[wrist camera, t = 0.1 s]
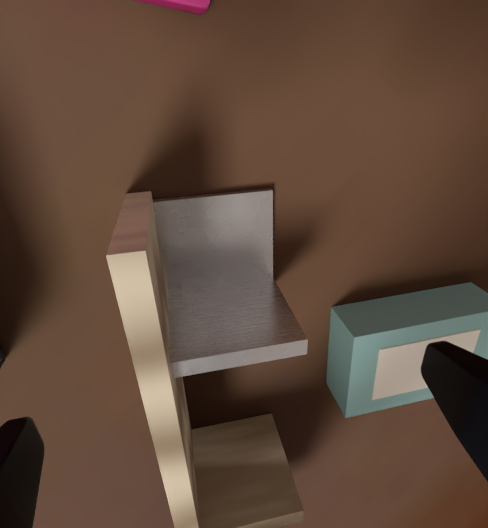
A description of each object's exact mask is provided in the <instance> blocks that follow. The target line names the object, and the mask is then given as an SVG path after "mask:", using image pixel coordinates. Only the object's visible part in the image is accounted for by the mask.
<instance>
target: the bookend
mask: <svg viewBox="0 0 488 528" xmlns="http://www.w3.org/2000/svg"><path fill="white" fill-rule="evenodd" d="M152 203H153V208H154V214H155V220H156V226H157V232H158V238H159V244H160V250H161V256H162V262H163V268H164V273H165V279H166V285H167V291H168V321H169V358H170V368H171V373H172V378H178V377H183V376H189V375H194V374H200V373H205V372H211V371H216V370H222V369H227V368H233V367H239V366H244V365H250V364H255V363H261V362H266V361H272V360H277V359H283V358H288V357H294V356H299V355H305V354H307V343H308V339H307V337H306V335H305V334H304V332H303V330H302V328H301V326H300V325H299V323H298V321H297V319H296V318H295V316H294V314H293V312H292V310H291V309H290V307H289V305H288V303H287V302H286V300H285V298H284V296H283V294H282V293H281V291H280V289H279V287H278V286H277V284H276V282H275V280H274V278H273V190H272V189H271V188H266V189H256V190H245V191H235V192H225V193H215V194H205V195H195V196H185V197H175V198H165V199H155V200H153V202H152Z"/></svg>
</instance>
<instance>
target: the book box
mask: <svg viewBox="0 0 488 528" xmlns="http://www.w3.org/2000/svg"><path fill="white" fill-rule="evenodd" d="M438 341H447V342H450V343H452V344H454V345H456V346H459V347H461V348H463V349H465V350H467V351H470V352H472V353H474V354H476V355H479V356H481V357H483V358H485V359H488V293H487V292H485V291H484V290H482V289H481V288H479V287H478V286H476V285H475V284H473V283H472V282H468V283H463V284H457V285H451V286H446V287H440V288H435V289H429V290H423V291H418V292H412V293H407V294H401V295H395V296H390V297H384V298H379V299H373V300H367V301H362V302H356V303H351V304H345V305H339V306H334V307H331V318H330V332H329V347H328V362H327V376H326V384H327V385H328V387H329V389H330V391H331V393H332V395H333V396H334V398H335V400H336V402H337V404H338V406H339V408H340V409H341V411H342V413H343V415H344V417H345V418H348V417H352V416H357V415H361V414H365V413H370V412H374V411H378V410H383V409H387V408H391V407H396V406H400V405H404V404H409V403H413V402H417V401H422V400H426V399H430V398H434V397H433V395H432V393H431V392H430V390H429V388H428V386H427V385H426V383H425V381H424V379H423V377H422V374H421V364H422V360H423V357H424V353H425V349H426V346H427V345H428V344H429V343H433V342H438Z"/></svg>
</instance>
